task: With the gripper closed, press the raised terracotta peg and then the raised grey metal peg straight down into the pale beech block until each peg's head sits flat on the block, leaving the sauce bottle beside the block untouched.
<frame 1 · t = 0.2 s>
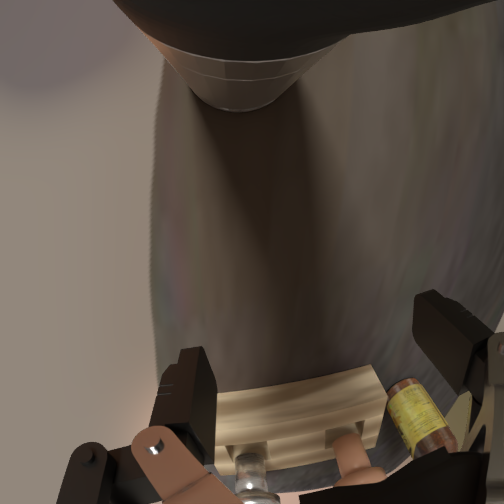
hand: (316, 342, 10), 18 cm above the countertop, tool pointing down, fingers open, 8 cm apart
sauce bottle: (401, 389, 38), on the countertop
terracotta peg: (354, 465, 27), point 11 cm above the countertop, slide at 7.0 cm
grey peg: (251, 485, 27), point 11 cm above the countertop, slide at 7.0 cm
beech block: (290, 411, 37), on the countertop
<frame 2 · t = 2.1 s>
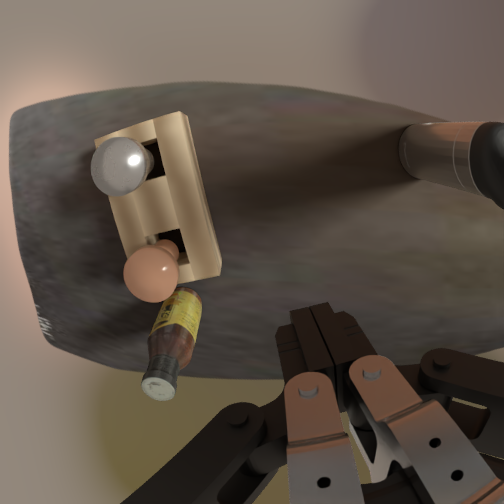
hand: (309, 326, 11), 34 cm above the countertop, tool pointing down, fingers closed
sauce bottle: (184, 302, 49), on the countertop
terracotta peg: (158, 263, 35), point 11 cm above the countertop, slide at 7.0 cm
grey peg: (129, 164, 31), point 11 cm above the countertop, slide at 7.0 cm
beech block: (165, 199, 43), on the countertop
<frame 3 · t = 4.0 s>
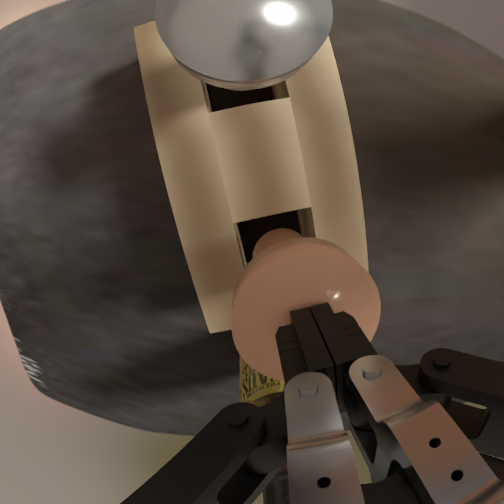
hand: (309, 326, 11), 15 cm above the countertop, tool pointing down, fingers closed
sauce bottle: (270, 339, 29), on the countertop
terracotta peg: (292, 283, 15), point 11 cm above the countertop, slide at 6.9 cm, touching gripper
grey peg: (241, 39, 11), point 11 cm above the countertop, slide at 7.0 cm
beech block: (255, 157, 23), on the countertop
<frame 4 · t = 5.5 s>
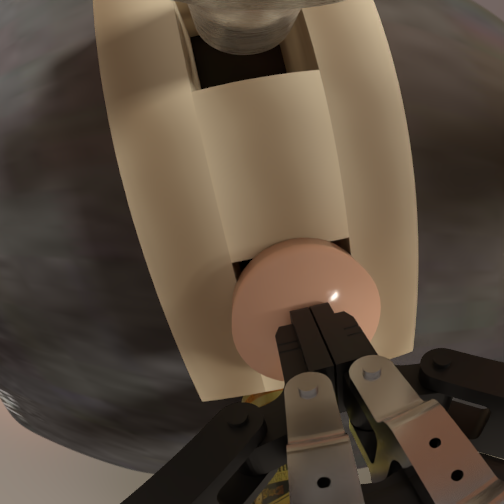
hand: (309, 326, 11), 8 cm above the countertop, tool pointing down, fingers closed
sauce bottle: (278, 386, 23), on the countertop
terracotta peg: (292, 283, 15), point 4 cm above the countertop, slide at 0.0 cm, touching gripper
beech block: (262, 160, 17), on the countertop
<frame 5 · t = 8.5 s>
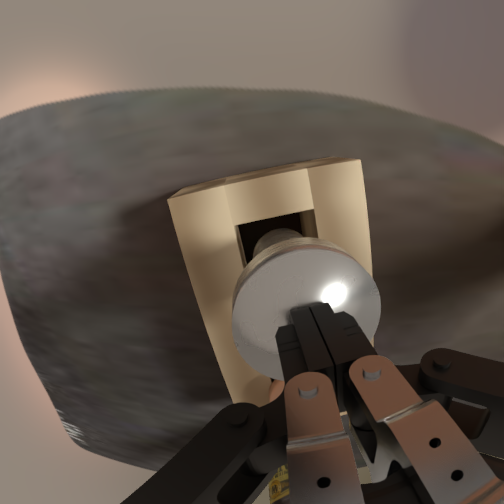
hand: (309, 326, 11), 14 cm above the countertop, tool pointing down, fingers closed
sauce bottle: (288, 417, 33), on the countertop
terracotta peg: (300, 373, 25), point 4 cm above the countertop, slide at 0.0 cm
grey peg: (293, 283, 15), point 10 cm above the countertop, slide at 6.2 cm, touching gripper
beech block: (283, 295, 27), on the countertop
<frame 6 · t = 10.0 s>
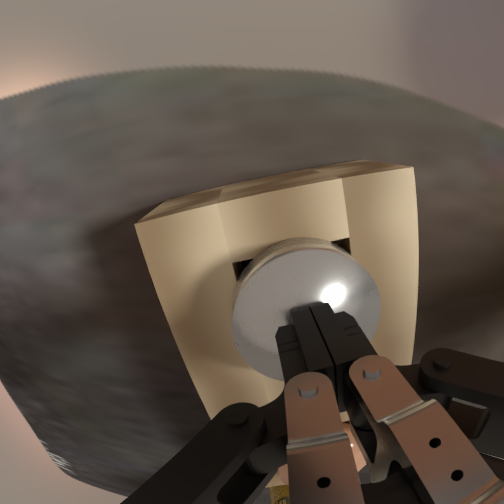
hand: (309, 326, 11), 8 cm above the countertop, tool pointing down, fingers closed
sauce bottle: (295, 457, 27), on the countertop
terracotta peg: (314, 426, 19), point 4 cm above the countertop, slide at 0.0 cm
grey peg: (292, 283, 15), point 4 cm above the countertop, slide at 0.0 cm, touching gripper
beech block: (295, 334, 21), on the countertop
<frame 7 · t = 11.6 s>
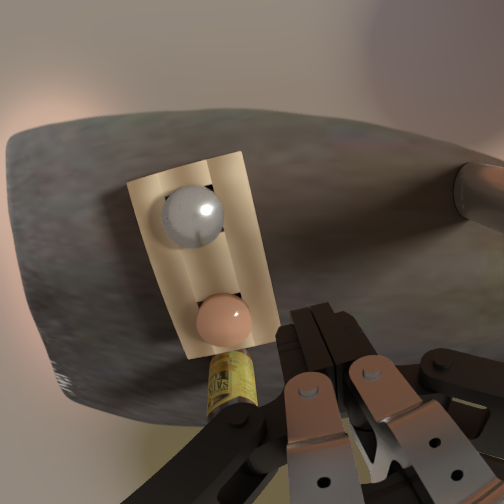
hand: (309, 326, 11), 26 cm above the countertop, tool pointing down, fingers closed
sauce bottle: (230, 359, 43), on the countertop
terracotta peg: (224, 307, 36), point 4 cm above the countertop, slide at 0.0 cm
grey peg: (196, 210, 32), point 4 cm above the countertop, slide at 0.0 cm
beech block: (211, 250, 38), on the countertop
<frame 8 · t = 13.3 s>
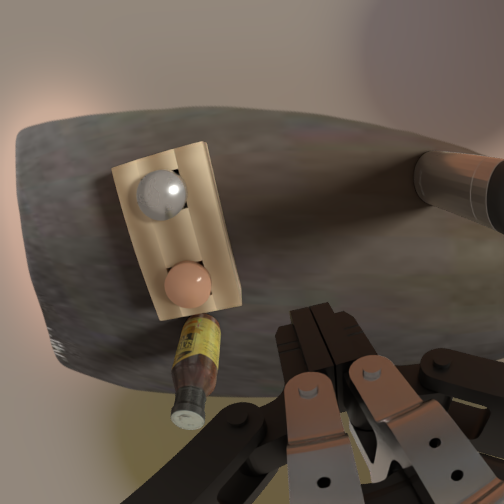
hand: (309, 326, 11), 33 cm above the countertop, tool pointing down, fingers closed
sauce bottle: (202, 327, 49), on the countertop
terracotta peg: (191, 275, 42), point 4 cm above the countertop, slide at 0.0 cm
grey peg: (167, 191, 38), point 4 cm above the countertop, slide at 0.0 cm
beech block: (183, 227, 43), on the countertop
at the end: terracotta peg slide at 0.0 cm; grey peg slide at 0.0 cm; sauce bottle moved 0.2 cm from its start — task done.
